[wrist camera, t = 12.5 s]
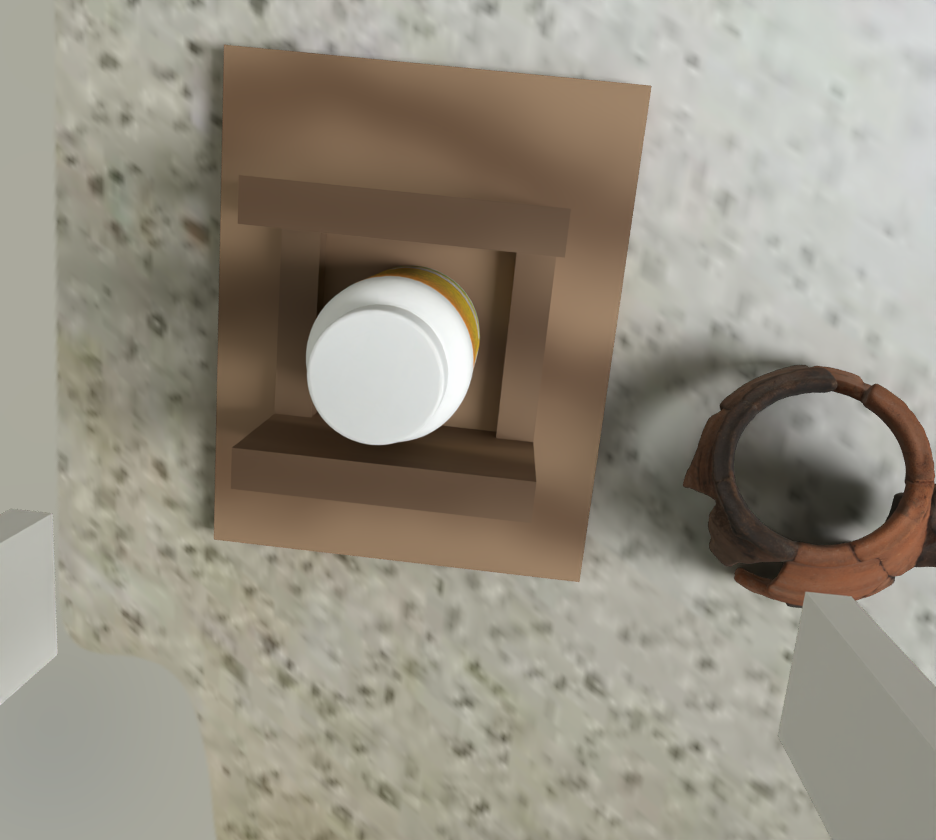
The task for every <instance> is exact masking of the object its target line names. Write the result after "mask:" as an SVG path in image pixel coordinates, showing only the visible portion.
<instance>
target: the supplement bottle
mask: <svg viewBox="0 0 936 840" xmlns="http://www.w3.org/2000/svg"><path fill="white" fill-rule="evenodd" d="M479 342H480V329H479V322H478V317H477V314H476V311H475V308H474V306H473V304H472V302H471V300H470V298H469V297H468V295H467V294H466V293H465V291H464V290H463V289H462V288H461V287H460V286H459V285H458V284H457V283H456V282H455V281H453V280H452V279H451V278H450V277H448V276H446V275H444V274H443V273H441V272H439V271H436V270H434V269H431V268H427V267H422V266H400V267H395V268H391V269H388V270H385V271H383V272H381V273H379V274H376V275H374V276H371V277H369V278H367V279H364V280H361V281H359V282H356V283H354V284H353V285H351V286H349V287H347V288H346V289H344V290H343V291H341V292H340V293H339V294H337V295H336V296H335V297H334V298H332V299H331V300H330V301H329V302H328V303H327V304H326V305H325V307H324V308H323V309H322V311H321V312H320V314H319V315H318V317H317V318H316V320H315V322H314V324H313V327H312V329H311V331H310V335H309V339H308V342H307V349H306V367H307V383H308V389H309V393H310V396H311V399H312V402H313V404H314V406H315V408H316V410H317V411H318V413H319V414H320V416H321V417H322V418H323V420H324V421H325V422H326V423H327V424H328V425H329V426H330V427H331V428H333V429H334V430H335V431H336V432H338V433H340V434H341V435H343V436H345V437H346V438H349V439H351V440H353V441H356V442H359V443H364V444H370V445H386V444H392V443H397V442H404V441H409V440H413V439H417V438H420V437H422V436H425V435H427V434H429V433H431V432H433V431H434V430H436V429H437V428H439V427H440V426H441V425H443V424H444V423H445V422H446V421H447V420H448V419H449V418H450V417H451V416H452V415H453V414H454V413H455V411H456V410H457V409H458V407H459V406H460V404H461V403H462V401H463V399H464V397H465V395H466V393H467V390H468V388H469V385H470V381H471V378H472V373H473V369H474V365H475V362H476V358H477V354H478V349H479Z"/></svg>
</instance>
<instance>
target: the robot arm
mask: <svg viewBox="0 0 936 840" xmlns="http://www.w3.org/2000/svg"><path fill="white" fill-rule="evenodd" d="M56 655H57V626H56V596H55V568H54V538H53V513H46V512H36V511H28V510H18V509H9V510H7V511H5V512H3V513H2V514H0V705H1V704H2V703H3V702H4V701H5V700H7V699H8V698H9V697H10V696H11V695H12V694H13V693H15V692H16V691H17V690H18V689H19V688H20V687H21V686H22V685H23V684H25V683H26V682H27V681H28V680H29V679H30V678H31V677H32V676H34V675H35V674H36V673H37V672H38V671H39V670H40V669H41V668H43V667H44V666H45V665H46V664H47V663H48V662H49V661H51V660H52V659H53V658H54V657H55V656H56ZM778 737H779V739H780V741H781V743H782V745H783V747H784V749H785V751H786V752H787V754H788V756H789V758H790V760H791V762H792V764H793V766H794V768H795V770H796V772H797V774H798V776H799V777H800V779H801V781H802V783H803V785H804V787H805V789H806V791H807V793H808V795H809V797H810V799H811V801H812V802H813V804H814V806H815V808H816V810H817V812H818V814H819V816H820V818H821V820H822V822H823V824H824V826H825V828H826V829H827V831H828V833H829V835H830V837H831V839H832V840H936V687H935V685H934V684H933V683H932V682H931V681H930V680H929V679H928V678H927V677H926V676H925V675H924V674H923V673H922V672H921V670H920V669H919V668H918V667H917V666H916V665H915V664H914V663H913V662H912V661H911V660H910V659H909V658H908V657H907V655H906V654H905V653H904V652H903V651H902V650H901V649H900V648H899V647H898V646H897V645H896V644H895V643H894V642H893V640H892V639H891V638H890V637H889V636H888V635H887V634H886V633H885V632H884V631H883V630H882V629H881V628H880V627H879V625H878V624H877V623H876V622H875V621H874V620H873V619H872V618H871V617H870V616H869V615H868V614H867V613H866V611H865V610H864V609H863V608H862V607H861V606H860V605H859V604H858V603H857V602H856V601H855V600H854V599H853V598H852V596H842V595H833V594H823V593H814V592H805V597H804V602H803V607H802V612H801V617H800V623H799V628H798V633H797V638H796V643H795V649H794V654H793V659H792V664H791V669H790V675H789V680H788V685H787V690H786V695H785V701H784V706H783V711H782V716H781V721H780V727H779V732H778Z"/></svg>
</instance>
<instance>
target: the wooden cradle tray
mask: <svg viewBox="0 0 936 840" xmlns="http://www.w3.org/2000/svg"><path fill="white" fill-rule="evenodd" d="M650 92H651V86H649V85H638V84H628V83H617V82H607V81H596V80H586V79H576V78H565V77H555V76H544V75H534V74H523V73H513V72H503V71H492V70H482V69H471V68H461V67H450V66H440V65H430V64H419V63H409V62H398V61H388V60H377V59H367V58H356V57H346V56H336V55H325V54H315V53H304V52H294V51H283V50H273V49H263V48H252V47H242V46H231V45H224V74H223V122H222V170H221V218H220V267H219V315H218V363H217V412H216V460H215V508H214V539H215V540H223V541H232V542H240V543H249V544H257V545H266V546H275V547H283V548H292V549H300V550H309V551H318V552H326V553H335V554H343V555H352V556H361V557H369V558H378V559H386V560H395V561H403V562H412V563H421V564H429V565H438V566H446V567H455V568H464V569H472V570H481V571H489V572H498V573H507V574H515V575H524V576H532V577H541V578H549V579H558V580H567V581H575V582H579V581H580V574H581V567H582V560H583V553H584V546H585V539H586V532H587V525H588V519H589V512H590V505H591V498H592V491H593V484H594V477H595V470H596V464H597V457H598V450H599V443H600V436H601V429H602V422H603V415H604V409H605V402H606V395H607V388H608V381H609V374H610V367H611V360H612V354H613V347H614V340H615V333H616V326H617V319H618V312H619V305H620V299H621V292H622V285H623V278H624V271H625V264H626V257H627V250H628V244H629V237H630V230H631V223H632V216H633V209H634V202H635V195H636V189H637V182H638V175H639V168H640V161H641V154H642V147H643V140H644V134H645V127H646V120H647V113H648V106H649V99H650ZM400 266H422V267H427V268H431V269H434V270H436V271H439V272H441V273H443V274H444V275H446V276H448V277H450V278H451V279H452V280H453V281H455V282H456V283H457V284H458V285H459V286H460V287H461V288H462V289H463V290H464V291H465V293H466V294H467V295H468V297H469V298H470V300H471V302H472V304H473V306H474V308H475V311H476V314H477V317H478V322H479V329H480V342H479V349H478V354H477V358H476V362H475V365H474V369H473V373H472V378H471V381H470V385H469V388H468V390H467V393H466V395H465V397H464V399H463V401H462V403H461V404H460V406H459V407H458V409H457V410H456V411H455V413H454V414H453V415H452V416H451V417H450V418H449V419H448V420H447V421H446V422H445V423H444V424H443V425H441V426H440V427H439V428H437V429H436V430H434V431H433V432H431V433H429V434H427V435H425V436H422V437H420V438H417V439H413V440H409V441H404V442H397V443H392V444H386V445H370V444H364V443H359V442H356V441H353V440H351V439H349V438H346V437H345V436H343V435H341V434H340V433H338V432H336V431H335V430H334V429H333V428H331V427H330V426H329V425H328V424H327V423H326V422H325V421H324V420H323V418H322V417H321V416H320V414H319V413H318V411H317V410H316V408H315V406H314V404H313V402H312V399H311V396H310V393H309V389H308V383H307V367H306V349H307V342H308V339H309V335H310V331H311V329H312V327H313V324H314V322H315V320H316V318H317V317H318V315H319V314H320V312H321V311H322V309H323V308H324V307H325V305H326V304H327V303H328V302H329V301H330V300H331V299H332V298H334V297H335V296H336V295H337V294H339V293H340V292H341V291H343V290H344V289H346V288H347V287H349V286H351V285H353V284H354V283H356V282H359V281H361V280H364V279H367V278H369V277H371V276H374V275H376V274H379V273H381V272H383V271H385V270H388V269H391V268H395V267H400Z"/></svg>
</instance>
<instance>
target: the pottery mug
mask: <svg viewBox="0 0 936 840" xmlns="http://www.w3.org/2000/svg"><path fill="white" fill-rule="evenodd" d="M830 391H833V392H837V393H840V394H844V395H847V396H850V397H852V398H854V399H856V400H859V401H861V402H862V403H863V405H864V406H865V407H866V408H868V409H869V410H871V411H872V412H873V413H875V414H876V415H877V416H878V417H879V418H880V419H882V421H883V422H884V423H885V424H886V425H887V426H888V427H889V428H890V430H891V431H892V433H893V434H894V436H895V437H896V439H897V441H898V443H899V445H900V447H901V450H902V453H903V457H904V461H905V466H906V477H905V484H906V486H905V490H904V493H898V494H896V495H894V498H893V502H892V506H891V510H890V513H889V515H888V517H887V519H886V522H885V523H884V524H883V525H882V526H881V527H879V528H878V529H877V530H875V531H874V532H872V533H870V534H869V535H867V536H865V537H863V538H860V539H858V540H855V541H852V542H849V543H842V544H836V545H814V544H809V543H804V542H795V541H793V540H790V539H788V538H786V537H784V536H781V535H779V534H778V533H776V532H774V531H773V530H771V529H770V528H768V527H767V526H766V525H764V524H763V523H762V522H761V521H760V520H759V519H758V518H757V517H756V516H755V515H754V514H753V513H752V511H751V510H750V509H749V508H748V506H747V505H746V503H745V502H744V500H743V498H742V496H741V494H740V492H739V490H738V487H737V486H736V483H735V475H734V455H735V450H736V446H737V443H738V440H739V438H740V436H741V434H742V432H743V431H744V429H745V427H746V426H747V425H748V423H749V422H750V421H751V420H752V419H753V418H754V417H755V415H756V414H758V413H759V412H761V411H762V410H763V409H765V408H766V407H767V406H769V405H771V404H773V403H774V402H776V401H778V400H781V399H783V398H786V397H789V396H794V395H799V394H804V393H825V392H830ZM720 409H721V411H720V412H718V413H716V414H714V415H712V416H711V417H710V418H709V419H708V421H707V423H706V425H705V427H704V429H703V432H702V435H701V438H700V441H699V443H698V448H697V450H696V453H695V455H694V458H693V460H692V462H691V465H690V468H689V469H688V470H687V473H686V475H685V479H684V482H683V486H684V487H685V488H691V489H694V490H696V491H698V492H701V493H704V494H706V495H708V496H710V497H712V498H713V499H714V500H715V502H716V504H715V506H714V508H713V509H712V511H711V512H710V514H709V521H708V528H709V532H710V535H711V539H710V543H709V548H710V550H711V552H712V553H713V554H714V555H715V556H716V557H717V558H718V559H719V561H720V562H721V563H722V564H724V565H725V566H728V567H730V566H732V565H734V564H737V563H745V564H753V563H758V562H781V561H784V563H783V566H782V568H781V570H780V572H779V574H778V575H777V577H776V578H775V579H773V580H771V579H767V578H763V577H760V576H757V575H755V574H752V573H750V572H748V571H746V570H744V569H742V568H738V569H736V571H735V573H734V574H735V577H734V579H735V581H736V582H737V583H739V584H740V585H742V586H743V587H745V588H746V589H748V590H750V591H752V592H754V593H757V594H760V595H763V596H766V597H768V598H771V599H774V600H778V601H781V602H785V603H786V604H787V606H790V607H796V608H802V607H803V602H804V597H805V592H814V593H823V594H833V595H842V596H852V598H853V599H854V600H855V601H856V600H859V599H862V598H866V597H869V596H871V595H874V594H876V593H878V592H880V591H882V590H883V589H885V588H887V587H888V586H890V585H892V584H893V583H894V581H895V576H900V575H902V574H904V573H905V572H907V571H909V570H910V569H912V568H913V567H936V484H934V478H935V473H934V461H933V458H932V452H931V448H930V444H929V441H928V438H927V436H926V433H925V431H924V428H923V427H922V425H921V424H920V422H919V421H918V419H917V418H916V416H915V415H914V413H913V412H912V411H911V410H910V409H909V408H908V406H907V405H906V404H905V403H904V402H903V401H902V400H901V399H899V398H898V397H897V396H895V395H894V394H893V393H891V392H890V391H888V390H887V389H886V388H884V387H882V386H880V385H879V384H874V385H872V386H871V385H869V384H866V383H864V382H863V381H862V379H861V378H860V377H859V376H857V375H855V374H853V373H849V372H846V371H843V370H839V369H835V368H829V367H822V366H814V367H808V366H806V365H794V366H790V367H786V368H783V369H779V370H776V371H774V372H770V373H767V374H765V375H762V376H760V377H758V378H755V379H753V380H751V381H749V382H748V383H746V384H744V385H742V386H741V387H740V388H738V389H737V390H736V391H734V392H733V393H732V394H730V395H729V396H728V397H726V398H725V399H724V400H723V401H722V402H721V404H720Z"/></svg>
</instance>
